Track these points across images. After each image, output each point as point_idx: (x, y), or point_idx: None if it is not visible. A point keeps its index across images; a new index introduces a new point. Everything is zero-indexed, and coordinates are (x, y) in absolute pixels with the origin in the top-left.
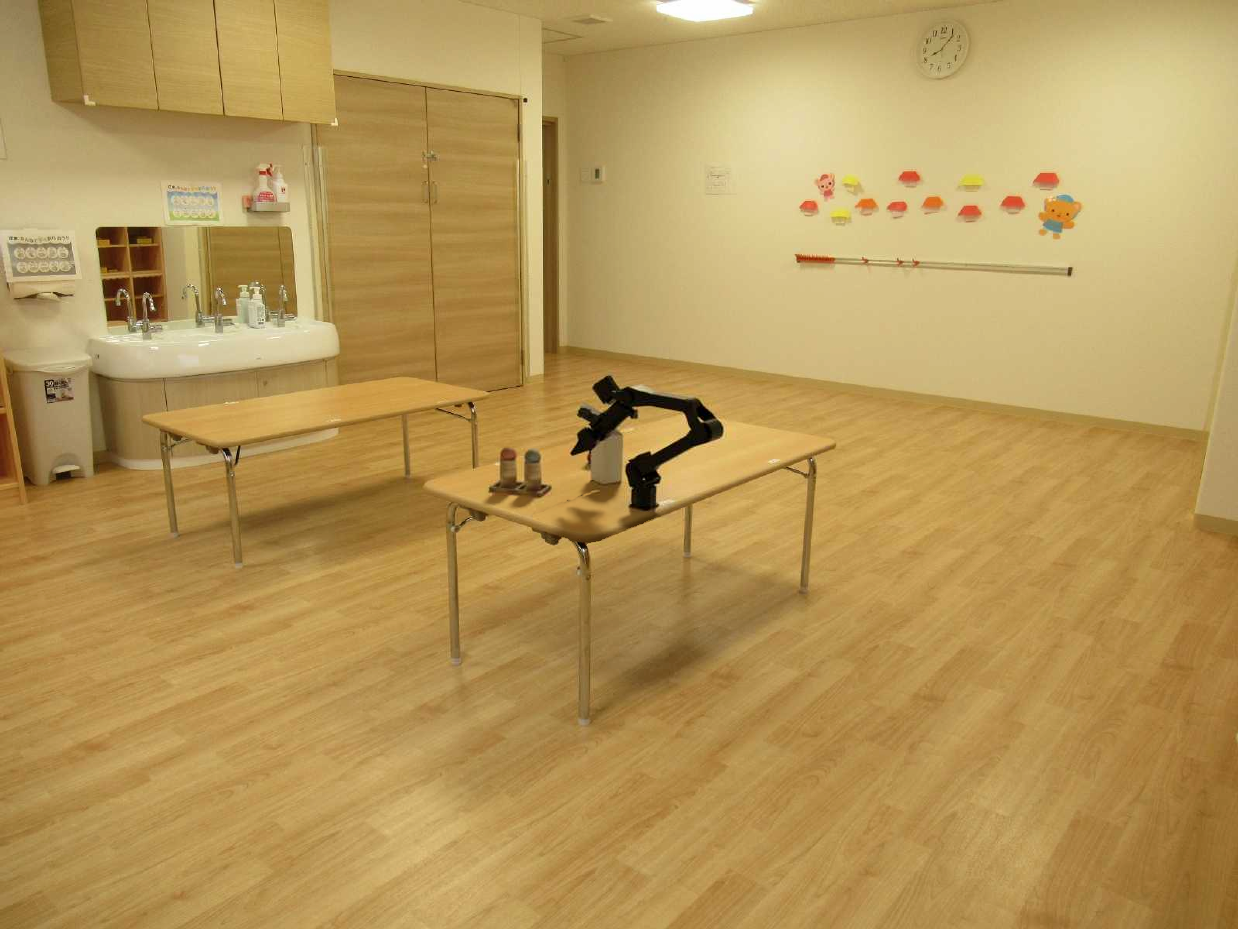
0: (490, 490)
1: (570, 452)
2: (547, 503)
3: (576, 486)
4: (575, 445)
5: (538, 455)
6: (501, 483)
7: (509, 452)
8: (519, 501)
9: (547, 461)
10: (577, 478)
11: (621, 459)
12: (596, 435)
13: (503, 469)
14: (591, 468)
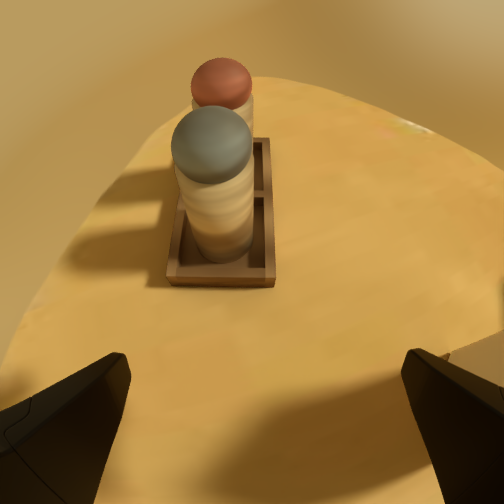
0: None
1: (107, 355)
2: (137, 317)
3: (368, 345)
4: (27, 401)
5: (193, 157)
6: None
7: (196, 79)
8: (141, 234)
9: (486, 192)
10: (441, 308)
11: None
12: (495, 500)
13: None
14: (473, 345)
